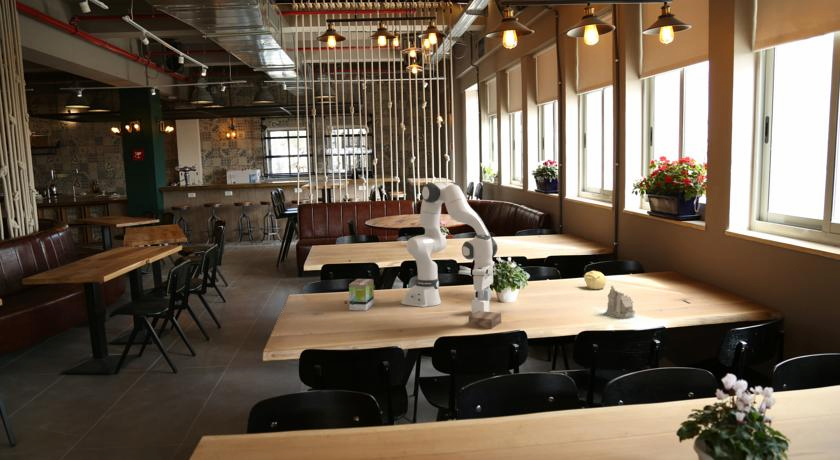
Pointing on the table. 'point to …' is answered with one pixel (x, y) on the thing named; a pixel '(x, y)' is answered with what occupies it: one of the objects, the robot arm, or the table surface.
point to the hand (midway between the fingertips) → (484, 296)
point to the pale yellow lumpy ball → (595, 280)
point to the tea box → (361, 294)
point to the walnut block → (485, 319)
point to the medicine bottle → (479, 304)
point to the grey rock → (619, 305)
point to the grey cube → (485, 295)
